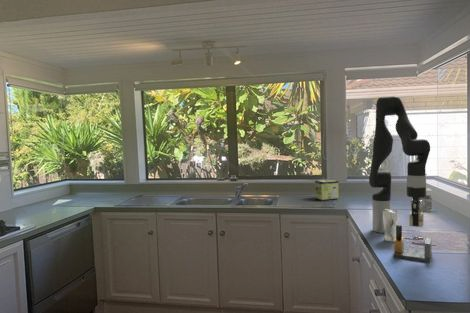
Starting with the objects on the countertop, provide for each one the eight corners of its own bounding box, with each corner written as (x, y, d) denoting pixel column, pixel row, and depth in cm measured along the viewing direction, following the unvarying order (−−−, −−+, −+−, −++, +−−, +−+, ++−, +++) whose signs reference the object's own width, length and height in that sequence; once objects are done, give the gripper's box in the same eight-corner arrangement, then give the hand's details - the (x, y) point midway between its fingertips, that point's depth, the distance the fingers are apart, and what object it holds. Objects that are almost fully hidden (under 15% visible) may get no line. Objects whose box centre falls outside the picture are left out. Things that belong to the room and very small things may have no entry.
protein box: (315, 199, 298) (314, 180, 297) (331, 197, 303) (331, 179, 302) (321, 201, 288) (321, 182, 287) (338, 199, 293) (338, 180, 292)
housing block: (410, 223, 161) (410, 212, 161) (423, 224, 159) (423, 213, 159) (409, 226, 157) (409, 214, 157) (422, 227, 155) (422, 215, 154)
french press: (435, 211, 241) (435, 174, 239) (416, 211, 243) (416, 174, 242) (430, 208, 251) (430, 172, 249) (412, 208, 253) (412, 172, 251)
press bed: (397, 249, 168) (397, 233, 168) (431, 253, 161) (431, 237, 161) (393, 257, 158) (393, 240, 158) (429, 262, 151) (429, 244, 150)
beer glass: (381, 240, 182) (381, 211, 181) (384, 237, 188) (384, 208, 187) (396, 242, 178) (396, 212, 177) (399, 239, 184) (399, 209, 183)
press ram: (396, 247, 166) (396, 223, 166) (403, 248, 165) (403, 224, 164) (394, 251, 160) (394, 227, 160) (401, 252, 159) (401, 228, 158)
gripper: (408, 183, 165) (408, 220, 166) (404, 187, 153) (404, 227, 154) (427, 183, 161) (427, 221, 162) (424, 188, 149) (424, 229, 150)
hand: (416, 224), depth 158 cm, fingers closed on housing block, 5 cm apart
